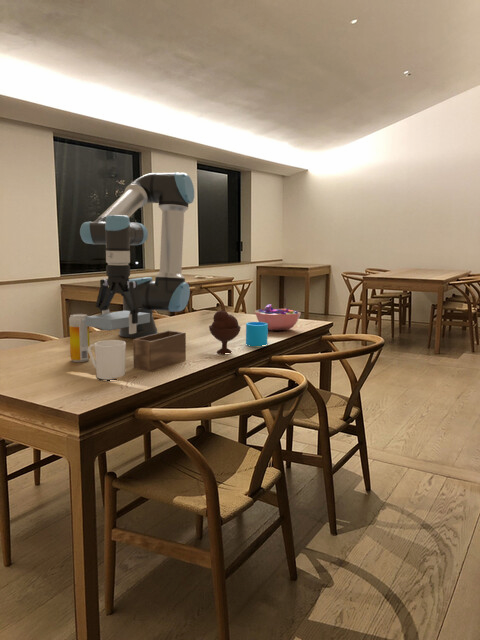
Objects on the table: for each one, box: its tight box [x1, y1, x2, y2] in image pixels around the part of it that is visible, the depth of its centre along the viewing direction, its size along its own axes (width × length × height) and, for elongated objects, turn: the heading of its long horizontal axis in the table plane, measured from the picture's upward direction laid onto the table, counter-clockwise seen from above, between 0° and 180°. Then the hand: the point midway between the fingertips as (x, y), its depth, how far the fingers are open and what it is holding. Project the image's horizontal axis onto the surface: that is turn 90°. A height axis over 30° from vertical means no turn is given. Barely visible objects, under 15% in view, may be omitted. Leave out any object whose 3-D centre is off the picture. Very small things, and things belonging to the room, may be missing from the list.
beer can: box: [68, 313, 91, 363], centre depth 174 cm, size 6×6×15 cm
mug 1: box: [88, 339, 127, 382], centre depth 155 cm, size 11×9×10 cm
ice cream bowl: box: [208, 310, 241, 355], centre depth 188 cm, size 11×11×15 cm
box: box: [132, 330, 187, 372], centre depth 168 cm, size 7×17×10 cm, turn 149°
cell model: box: [254, 303, 302, 331], centre depth 232 cm, size 17×20×11 cm
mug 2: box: [245, 321, 269, 347], centre depth 204 cm, size 12×8×8 cm
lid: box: [86, 310, 150, 332], centre depth 175 cm, size 11×18×4 cm, turn 149°
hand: (119, 331), depth 175 cm, fingers closed on lid, 11 cm apart
